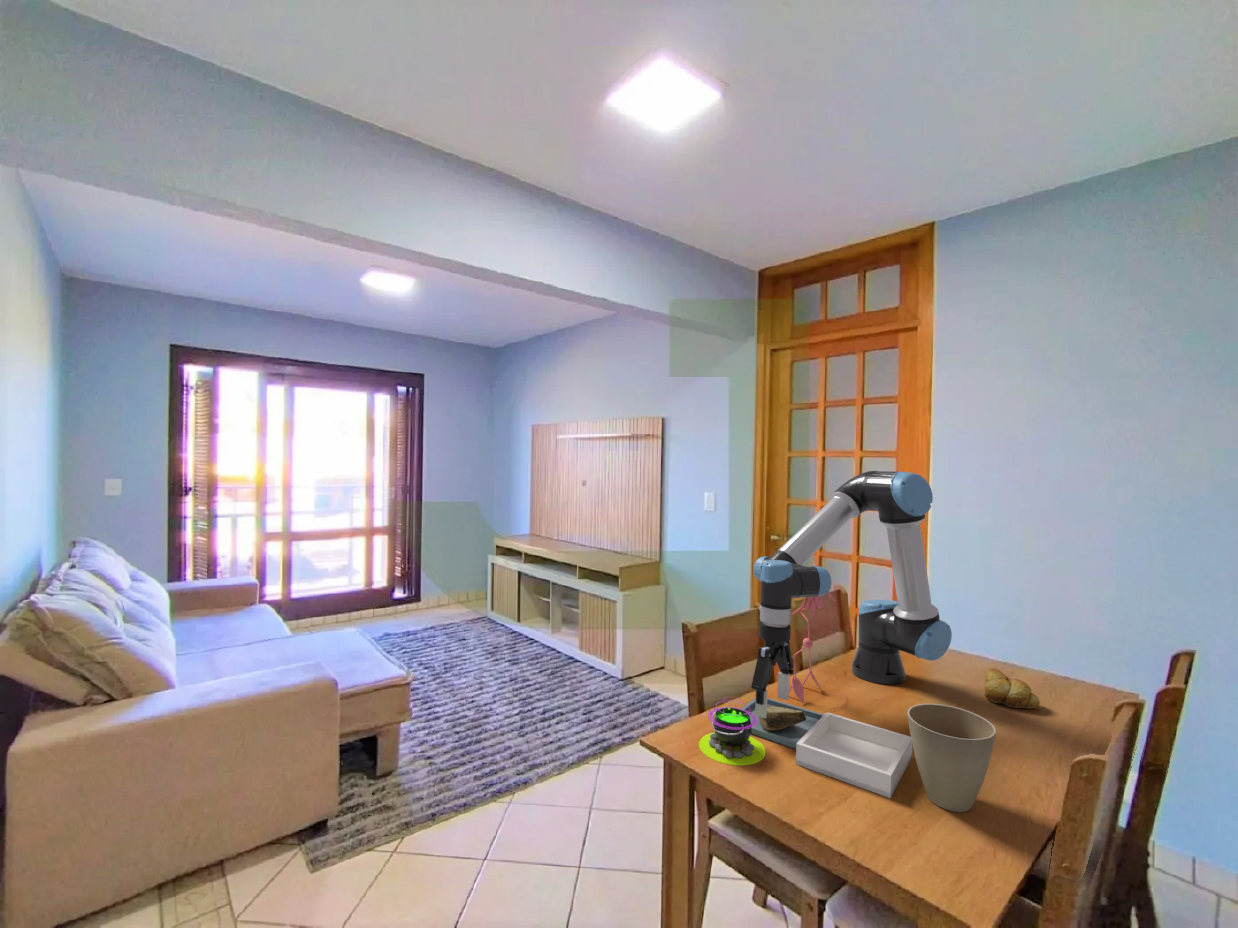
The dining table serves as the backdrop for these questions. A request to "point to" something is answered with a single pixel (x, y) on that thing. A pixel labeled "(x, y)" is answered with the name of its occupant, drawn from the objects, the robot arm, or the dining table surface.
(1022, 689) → the bread roll
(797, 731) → the tray
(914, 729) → the plant pot
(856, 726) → the dish
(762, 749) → the toy cauldron
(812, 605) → the flower sculpture
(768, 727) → the rock
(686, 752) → the dining table surface
